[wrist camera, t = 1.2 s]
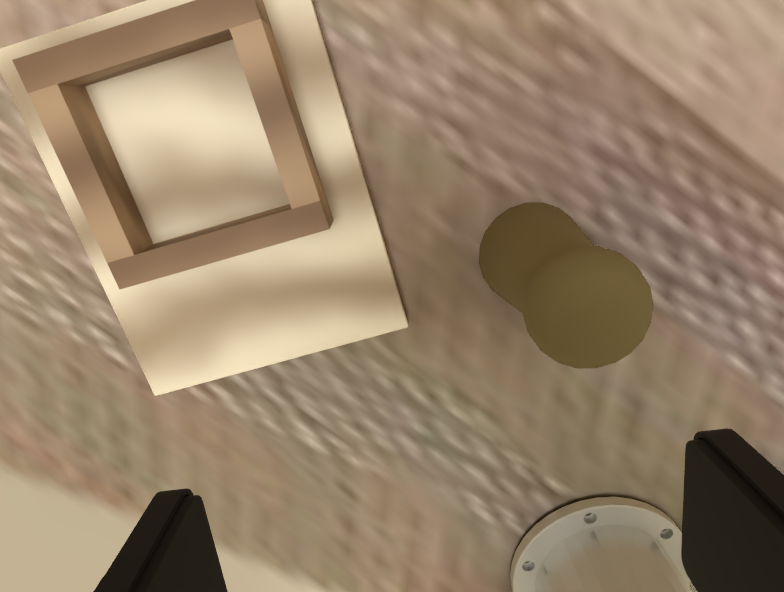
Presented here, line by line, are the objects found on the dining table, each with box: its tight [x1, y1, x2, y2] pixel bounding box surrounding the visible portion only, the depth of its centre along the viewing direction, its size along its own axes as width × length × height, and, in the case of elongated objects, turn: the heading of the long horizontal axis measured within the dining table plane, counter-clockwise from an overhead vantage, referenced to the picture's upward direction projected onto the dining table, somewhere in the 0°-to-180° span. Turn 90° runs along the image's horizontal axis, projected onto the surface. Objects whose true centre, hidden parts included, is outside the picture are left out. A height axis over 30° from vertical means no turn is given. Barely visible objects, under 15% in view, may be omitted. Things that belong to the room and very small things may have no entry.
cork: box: [479, 203, 653, 368], centre depth 27 cm, size 6×6×11 cm
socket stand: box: [0, 0, 408, 396], centre depth 29 cm, size 20×16×4 cm
